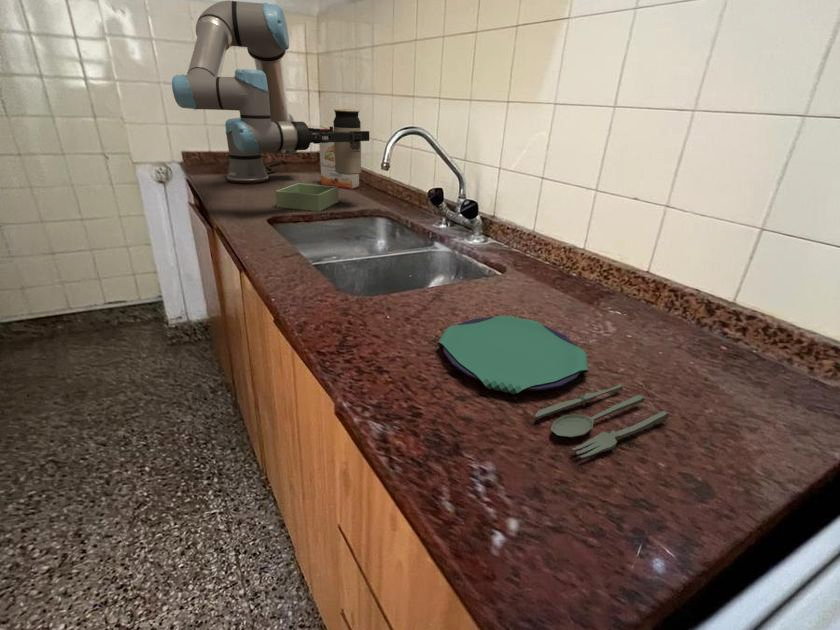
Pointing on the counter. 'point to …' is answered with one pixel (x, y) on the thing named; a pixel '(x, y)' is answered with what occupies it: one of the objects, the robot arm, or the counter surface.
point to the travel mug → (344, 151)
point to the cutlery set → (534, 371)
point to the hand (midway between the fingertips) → (360, 134)
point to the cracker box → (328, 169)
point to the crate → (307, 197)
